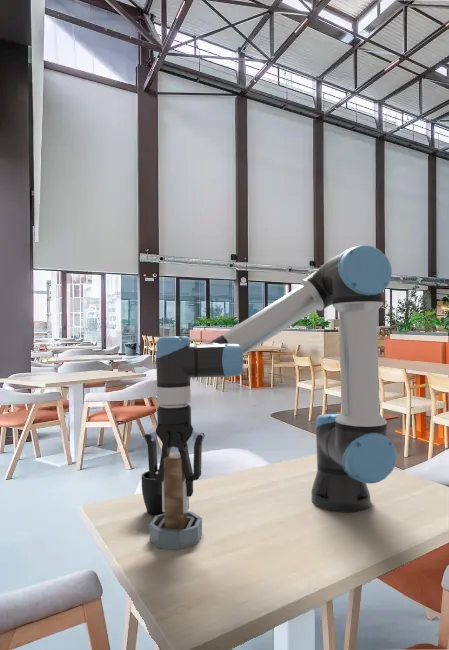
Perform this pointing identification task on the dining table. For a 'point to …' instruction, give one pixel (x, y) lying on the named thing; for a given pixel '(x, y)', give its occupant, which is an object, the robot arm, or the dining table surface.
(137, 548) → the dining table surface
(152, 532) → the octagonal peg hole ring
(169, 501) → the wooden post
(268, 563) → the dining table surface
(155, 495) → the mug
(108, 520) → the dining table surface
